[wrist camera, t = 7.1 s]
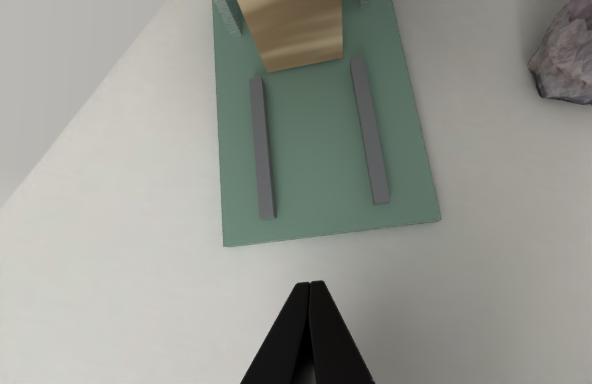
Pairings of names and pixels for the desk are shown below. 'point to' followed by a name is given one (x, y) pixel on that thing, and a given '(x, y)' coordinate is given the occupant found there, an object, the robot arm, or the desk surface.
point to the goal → (231, 14)
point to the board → (320, 136)
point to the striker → (294, 31)
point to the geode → (566, 56)
